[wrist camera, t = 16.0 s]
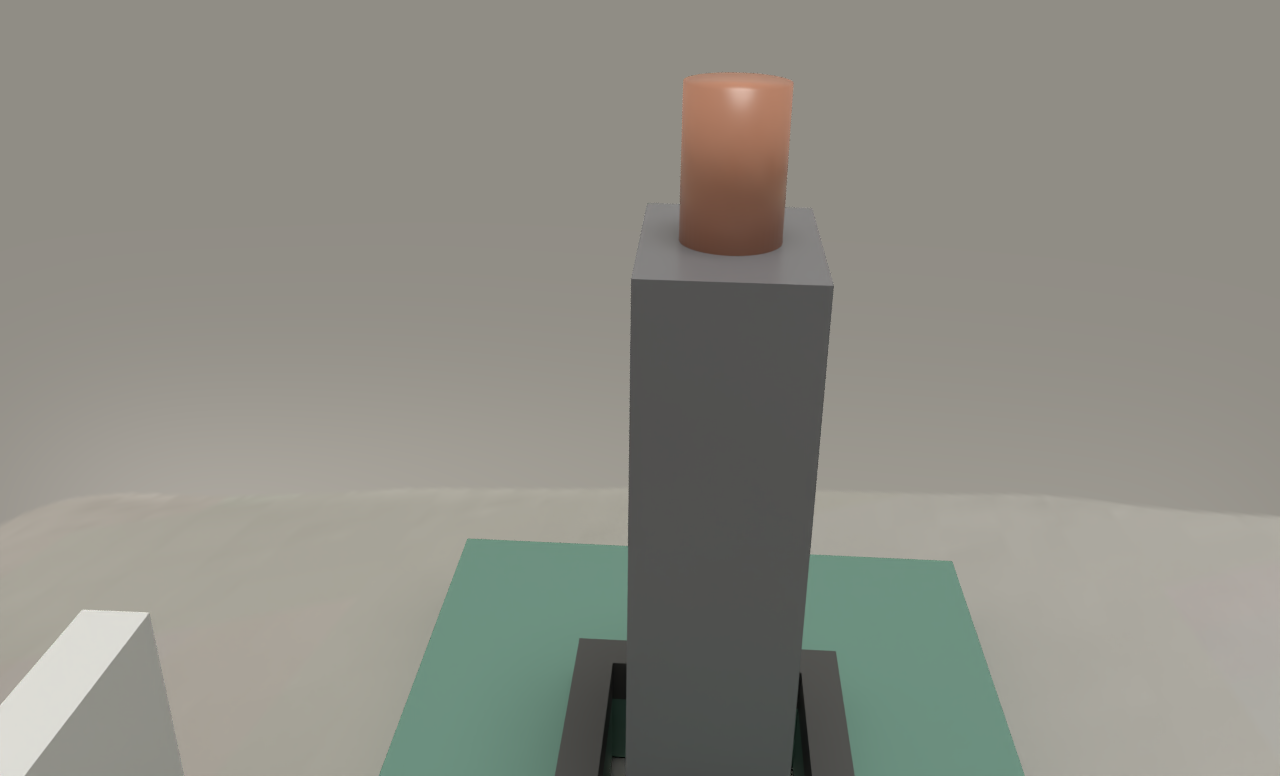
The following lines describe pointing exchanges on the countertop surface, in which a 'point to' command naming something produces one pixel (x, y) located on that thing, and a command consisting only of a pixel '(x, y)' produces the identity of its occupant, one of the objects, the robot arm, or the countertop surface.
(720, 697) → the plug
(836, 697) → the board
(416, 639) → the countertop surface
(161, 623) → the countertop surface
